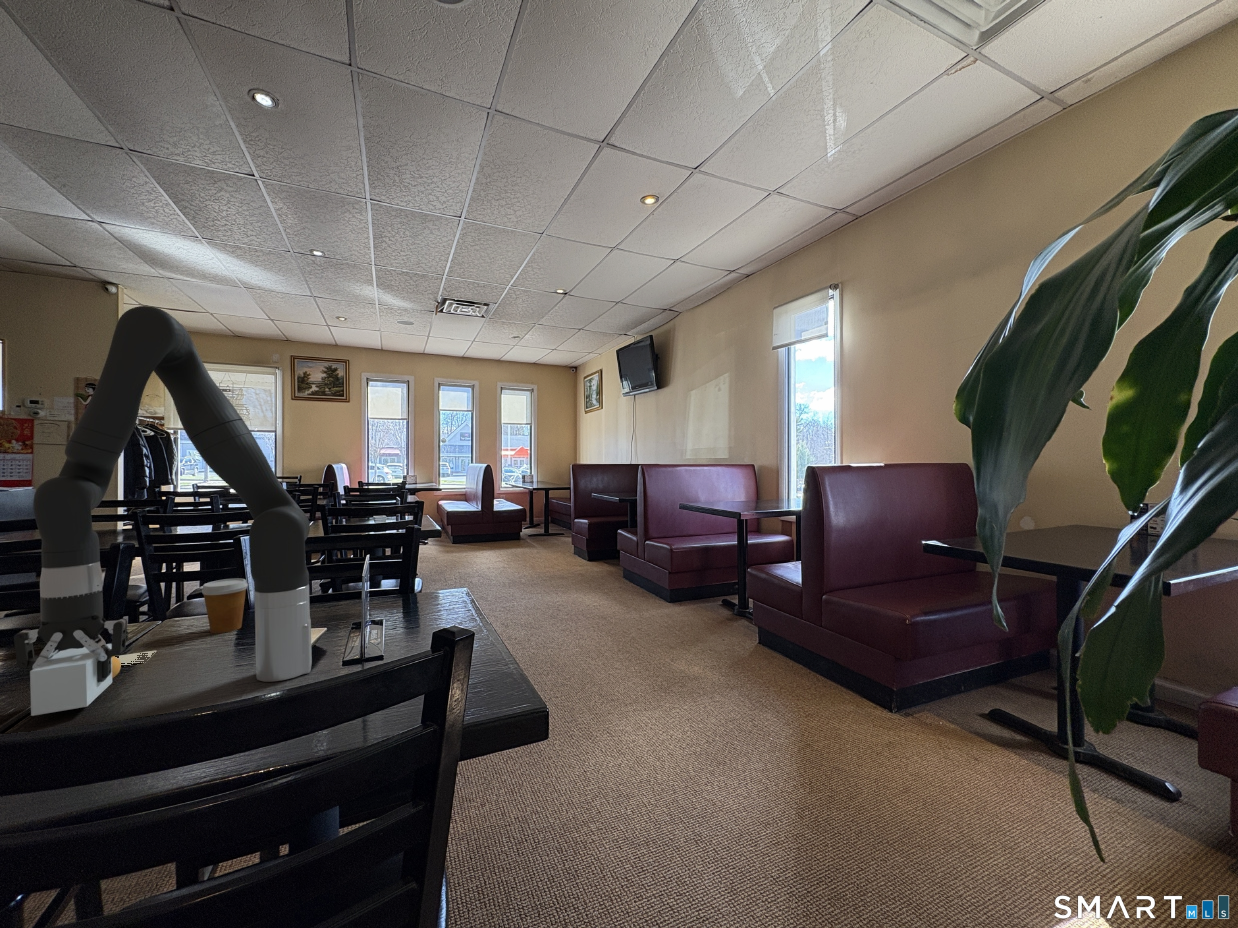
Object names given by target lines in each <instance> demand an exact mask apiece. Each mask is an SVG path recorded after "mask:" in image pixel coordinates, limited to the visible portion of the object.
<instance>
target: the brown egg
mask: <svg viewBox="0 0 1238 928" xmlns="http://www.w3.org/2000/svg"><path fill="white" fill-rule="evenodd" d="M121 668H122V667H121V662H120V660H119V659H118V658H117V657H115V656H113V657H112V679H114V678H115V677H116V676H118V674H119V673H120V671H121Z"/></svg>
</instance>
